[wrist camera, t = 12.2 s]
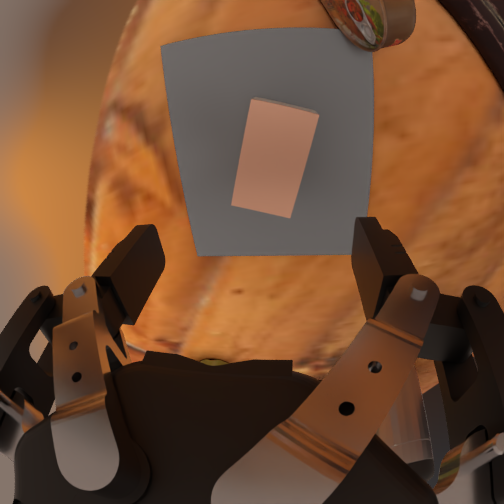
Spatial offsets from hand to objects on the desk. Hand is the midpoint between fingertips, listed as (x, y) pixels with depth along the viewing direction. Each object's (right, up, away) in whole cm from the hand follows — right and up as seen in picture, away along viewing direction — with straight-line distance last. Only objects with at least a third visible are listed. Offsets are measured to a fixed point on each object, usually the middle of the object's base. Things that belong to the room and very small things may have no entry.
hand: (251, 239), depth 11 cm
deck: (+2, +7, +10) cm, 13 cm away
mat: (+2, +8, +10) cm, 13 cm away
